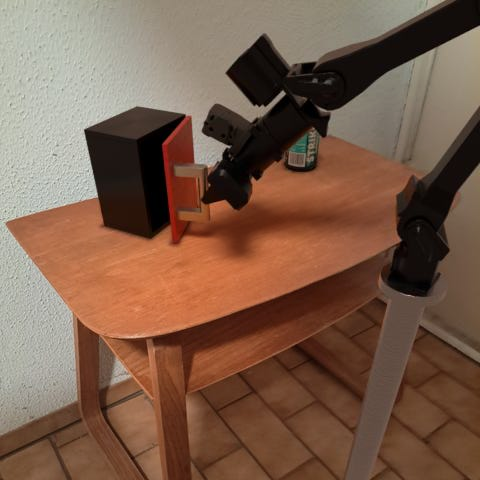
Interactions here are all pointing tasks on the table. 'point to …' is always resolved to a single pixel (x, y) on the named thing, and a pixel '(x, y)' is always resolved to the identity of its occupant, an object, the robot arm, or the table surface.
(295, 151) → the beverage can
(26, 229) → the table surface
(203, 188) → the door
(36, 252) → the table surface
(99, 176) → the black cabinet
